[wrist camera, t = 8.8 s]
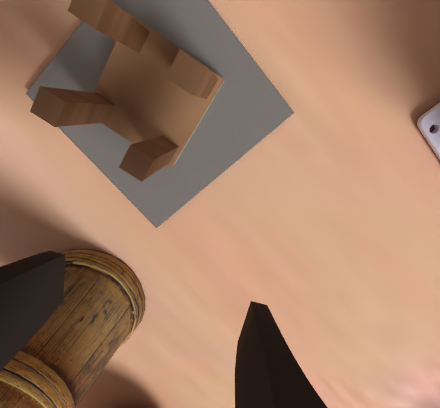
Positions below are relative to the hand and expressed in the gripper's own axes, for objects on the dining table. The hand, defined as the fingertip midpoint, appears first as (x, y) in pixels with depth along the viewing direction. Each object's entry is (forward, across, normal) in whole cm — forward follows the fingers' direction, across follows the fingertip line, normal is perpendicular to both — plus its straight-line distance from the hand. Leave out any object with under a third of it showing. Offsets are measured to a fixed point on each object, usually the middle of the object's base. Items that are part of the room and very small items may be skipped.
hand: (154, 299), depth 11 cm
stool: (+9, +4, -7) cm, 12 cm away
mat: (+10, +4, -6) cm, 12 cm away
